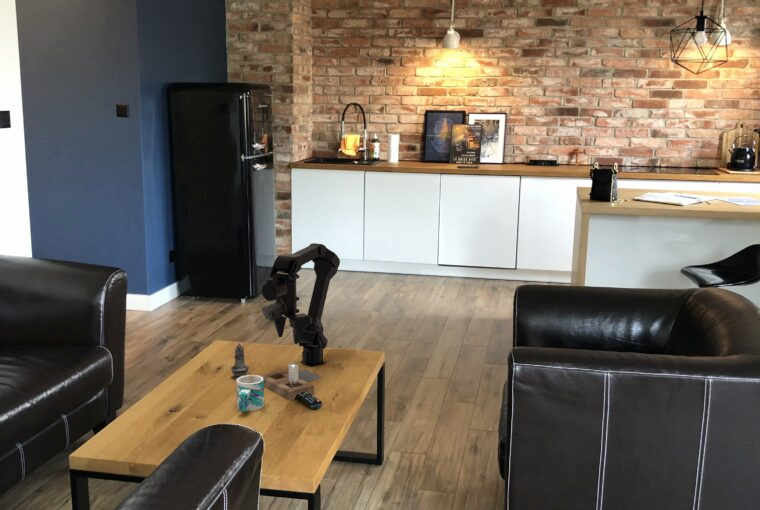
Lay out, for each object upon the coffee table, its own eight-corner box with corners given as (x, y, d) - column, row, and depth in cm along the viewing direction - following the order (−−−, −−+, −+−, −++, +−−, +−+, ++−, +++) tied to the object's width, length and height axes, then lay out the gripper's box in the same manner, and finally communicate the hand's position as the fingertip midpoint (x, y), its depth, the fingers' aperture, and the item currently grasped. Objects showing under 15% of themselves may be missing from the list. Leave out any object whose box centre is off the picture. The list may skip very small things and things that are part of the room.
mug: (267, 401, 246) (266, 375, 244) (256, 416, 234) (256, 389, 233) (241, 400, 247) (240, 373, 245) (229, 415, 235) (228, 388, 234)
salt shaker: (251, 375, 268) (250, 340, 266) (246, 381, 262) (245, 346, 260) (233, 374, 269) (232, 339, 266) (228, 380, 263) (227, 345, 261)
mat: (305, 370, 273) (305, 369, 273) (322, 378, 266) (322, 377, 266) (280, 376, 267) (280, 375, 267) (297, 385, 260) (297, 384, 260)
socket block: (258, 384, 260) (258, 375, 259) (282, 378, 265) (282, 369, 265) (289, 401, 246) (289, 391, 246) (314, 394, 252) (313, 385, 251)
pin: (295, 391, 254) (294, 362, 253) (300, 393, 252) (300, 364, 250) (287, 393, 253) (286, 364, 251) (292, 396, 250) (291, 366, 248)
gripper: (250, 292, 263) (251, 338, 266) (282, 303, 249) (283, 352, 252) (279, 287, 270) (280, 332, 273) (312, 298, 256) (312, 345, 259)
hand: (288, 340), depth 264 cm, fingers open, 9 cm apart
